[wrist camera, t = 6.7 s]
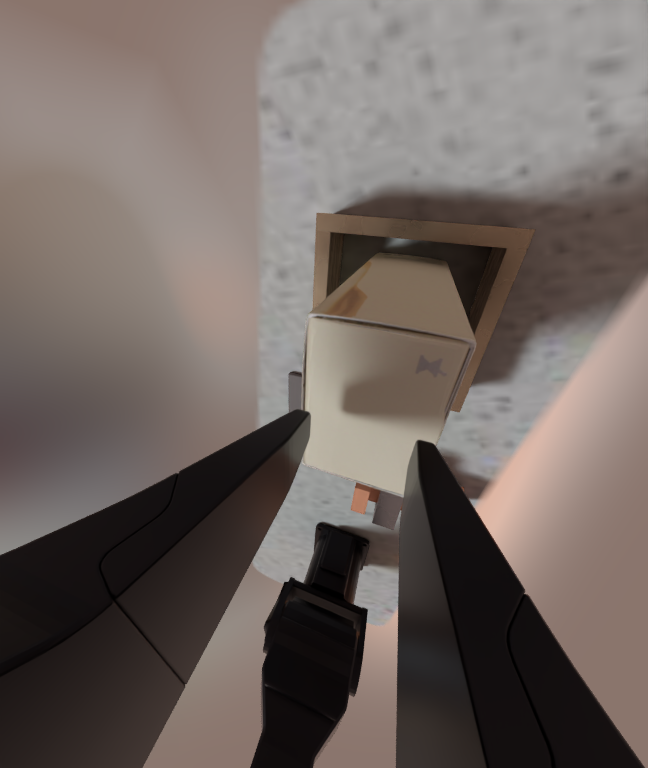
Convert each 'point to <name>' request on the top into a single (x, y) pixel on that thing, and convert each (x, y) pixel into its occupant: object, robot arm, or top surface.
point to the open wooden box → (503, 240)
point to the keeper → (387, 509)
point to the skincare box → (383, 368)
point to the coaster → (295, 391)
